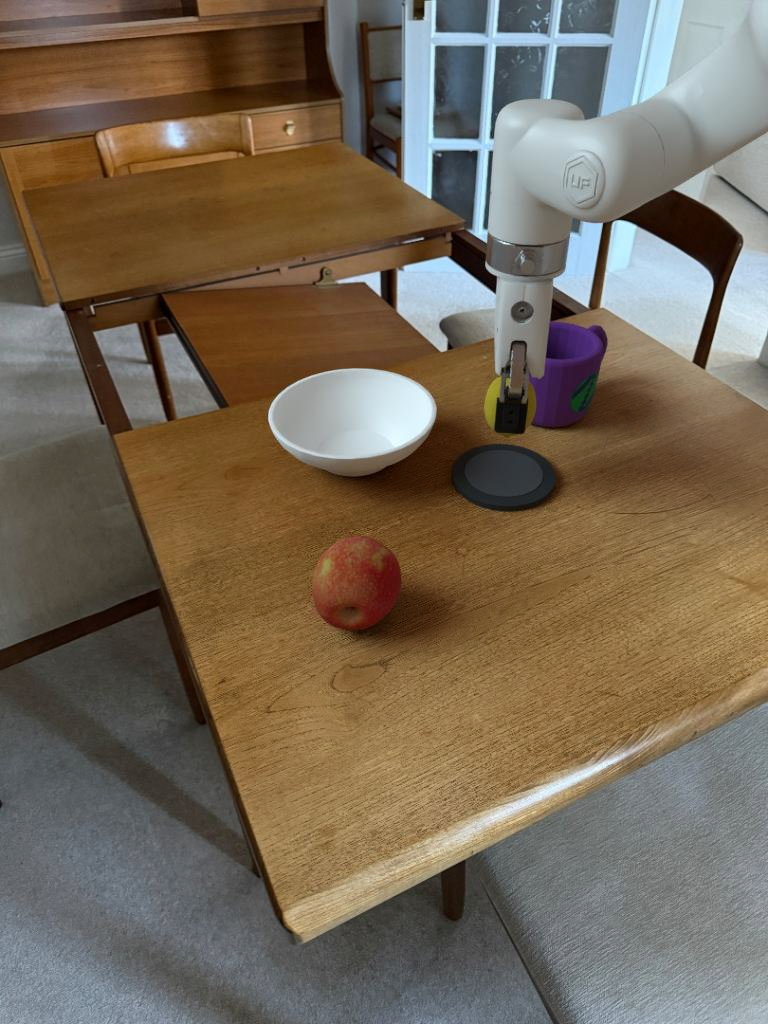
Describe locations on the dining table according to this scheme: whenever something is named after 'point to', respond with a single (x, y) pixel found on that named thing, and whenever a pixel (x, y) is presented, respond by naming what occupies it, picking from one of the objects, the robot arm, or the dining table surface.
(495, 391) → the lemon
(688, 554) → the dining table surface
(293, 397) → the bowl
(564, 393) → the mug
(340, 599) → the apple
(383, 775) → the dining table surface
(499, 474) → the plate
